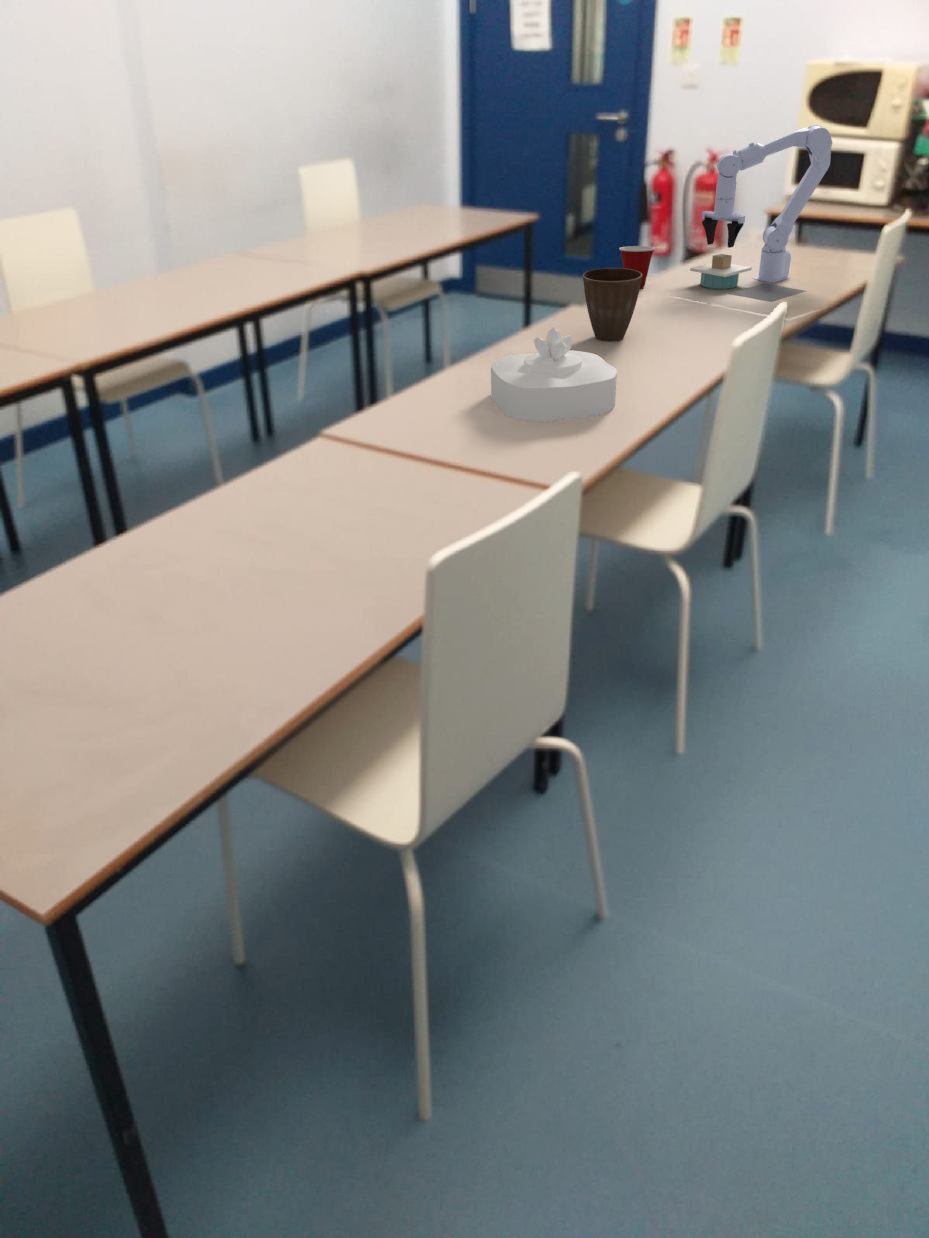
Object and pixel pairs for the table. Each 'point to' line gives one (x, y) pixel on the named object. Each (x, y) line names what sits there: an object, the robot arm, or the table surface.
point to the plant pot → (611, 300)
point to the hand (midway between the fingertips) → (720, 245)
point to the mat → (767, 292)
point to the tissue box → (553, 382)
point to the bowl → (719, 281)
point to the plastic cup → (637, 259)
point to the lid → (721, 266)
